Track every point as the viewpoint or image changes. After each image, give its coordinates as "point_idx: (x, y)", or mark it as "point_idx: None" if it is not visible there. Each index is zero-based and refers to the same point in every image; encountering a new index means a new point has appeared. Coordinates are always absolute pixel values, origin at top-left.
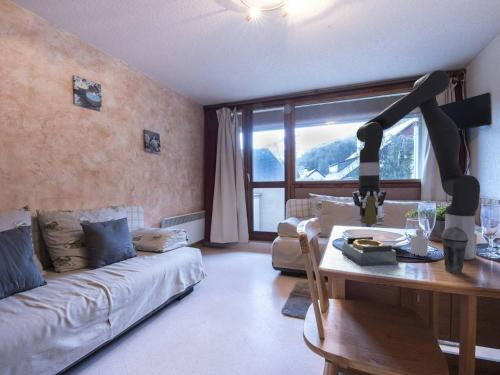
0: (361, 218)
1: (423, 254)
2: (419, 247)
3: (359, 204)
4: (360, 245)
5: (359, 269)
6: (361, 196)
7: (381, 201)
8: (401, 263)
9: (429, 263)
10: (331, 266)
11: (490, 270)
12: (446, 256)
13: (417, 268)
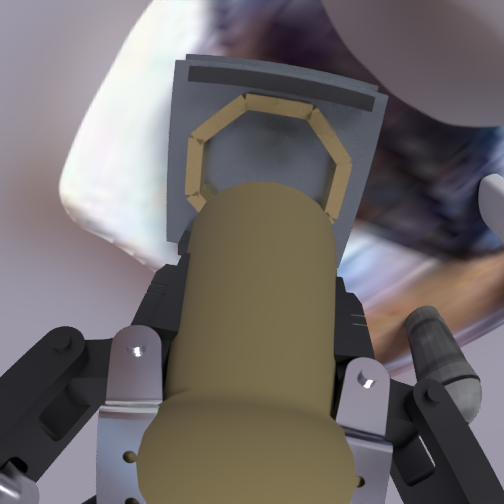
0: (187, 250)
1: (485, 222)
2: (495, 225)
3: (83, 402)
4: (191, 204)
5: (160, 237)
6: (91, 502)
7: (396, 469)
8: (353, 239)
9: (433, 267)
10: (82, 189)
11: (483, 330)
12: (416, 350)
13: (358, 285)
